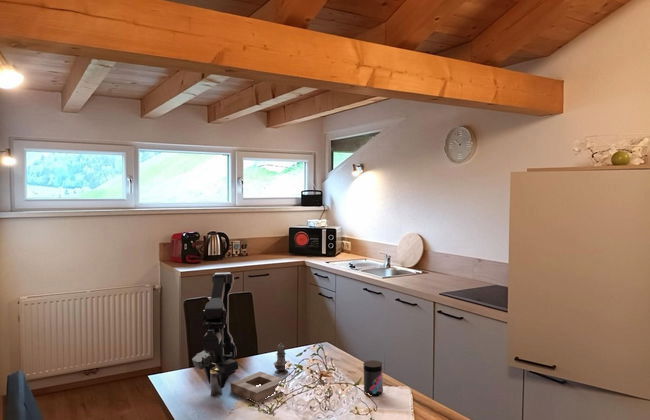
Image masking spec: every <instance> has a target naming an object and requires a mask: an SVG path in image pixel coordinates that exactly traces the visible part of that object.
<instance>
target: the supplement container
mask: <svg viewBox="0 0 650 420" xmlns="http://www.w3.org/2000/svg"><path fill="white" fill-rule="evenodd" d="M383 366H384V365H383V362H381V361H379V360H374V359H373V360H367V361H364V362H363V392H366V393H369V394H370V395H372V396H371V397H379V396H381V395H382V394H383V392H384V381H383V379H384V378H383V377H384V375H383V374H384V373H383V369H384V368H383Z"/></svg>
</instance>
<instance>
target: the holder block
mask: <svg viewBox="0 0 650 420" xmlns="http://www.w3.org/2000/svg"><path fill="white" fill-rule="evenodd" d="M282 379H283V378H281V377H278V376H275V375H273V374H269V373H267V372H263V371H258V372H255V373H252V374H250V375H248V376H245V377H242V378H240V379H237V380H234V381H232V382H230V393H232V394H233V395H236V396H239V397H241V398H243V397H244V398H243V399H246V398H249V399H251V400H253V401H255V402H259V401H261V400H263V399H265V398H267V397H268V396H271V395H272V394H274V392H275V388H276V387H277V386H278V384H279V382H280V381H281V380H282ZM259 384H261V386H259V387H256V385H259ZM267 399H268V398H267ZM251 400H250V401H251ZM265 400H266V399H265ZM253 401H252V402H253ZM263 401H264V400H263ZM255 402H254V403H255ZM261 402H262V401H261ZM259 403H260V402H259Z"/></svg>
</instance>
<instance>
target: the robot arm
mask: <svg viewBox="0 0 650 420" xmlns="http://www.w3.org/2000/svg"><path fill="white" fill-rule="evenodd" d="M210 280H211V282H210V285H212V289H211V295H210V300H209V301H208V302H207V303H205V308H204V309H203V310H202V319H201V330H205V334H204V336H203V337H202V340H201V346H202V348H203V350H202V351H201V352H198V353H195V354H194V356H193V357H192V358H191V361H192V363H193V366H194V368H195V369H199V370H204V373H205V376H206V380H207V381H208V384H209V385H210V369H211V368H213V367H218V370H217V371H216V372H217V373H218V374H219V380H220V387H221V388H222V389H224V388H225V385H226V383H227V381H228V379H229V377H230V375H231V374H232V373H234V372H236V371H237V370H239V365H240V364H239V362H238V361H237V360H235V359H234V358H236V357H237V346H236V345H235V342H234V339H233V336H232V334H231V333H230V330H229V327H230V326H229V325H230V324H229V322H230V321H229V320H230V319H229V318H230V317H229V313H230V312H229V302H230V301H229V299H230V297H229V294H230V293H231V291H232V289H233V284H235V275H234V274H232V273H231V272H229V271H227V272H215V273H214V274H211V277H210Z"/></svg>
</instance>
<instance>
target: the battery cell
mask: <svg viewBox="0 0 650 420" xmlns="http://www.w3.org/2000/svg"><path fill="white" fill-rule="evenodd" d="M217 370H218V367H216V366H215V367H213V368H211V369H210V384H209V385H210V396H211V397H220V396H222V395H223V388H221V387H220V380H219V374H218V373H217V372H216V371H217Z"/></svg>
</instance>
